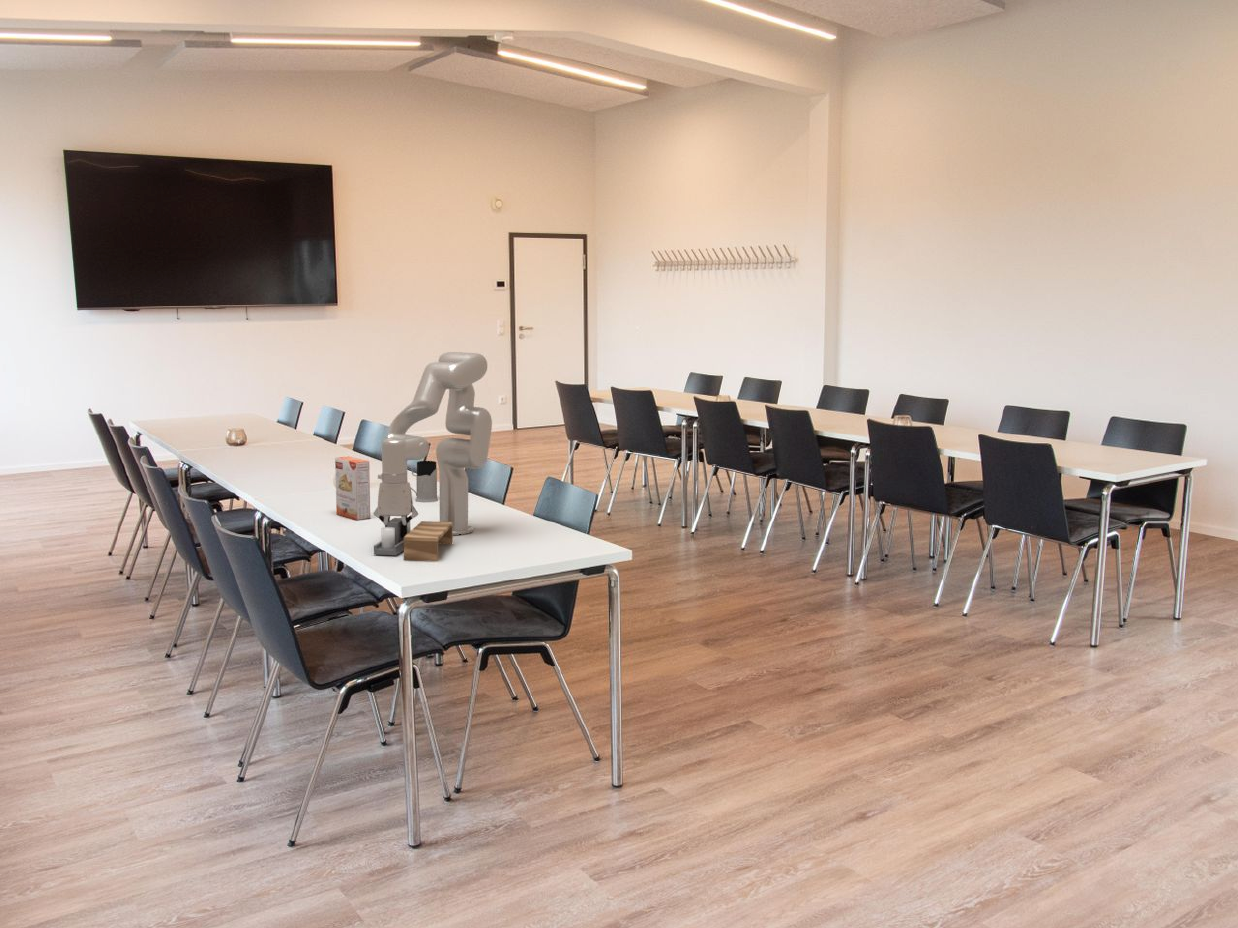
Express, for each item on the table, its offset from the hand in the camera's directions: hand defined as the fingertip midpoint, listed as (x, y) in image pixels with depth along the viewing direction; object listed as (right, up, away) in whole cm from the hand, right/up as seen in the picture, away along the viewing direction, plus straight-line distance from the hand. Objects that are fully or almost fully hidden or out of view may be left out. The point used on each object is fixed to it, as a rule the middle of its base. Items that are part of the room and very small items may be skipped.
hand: (396, 536), depth 330 cm
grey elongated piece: (0, -3, +1) cm, 3 cm away
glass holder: (-8, +8, +84) cm, 84 cm away
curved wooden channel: (+11, -5, -2) cm, 12 cm away
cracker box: (-26, +3, +48) cm, 55 cm away
